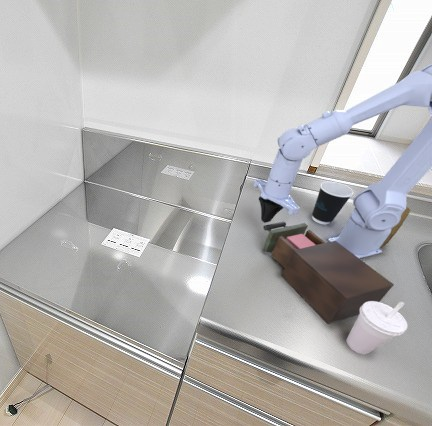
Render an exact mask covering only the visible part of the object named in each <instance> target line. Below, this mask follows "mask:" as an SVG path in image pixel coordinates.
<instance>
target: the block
mask: <svg viewBox="0 0 432 426" xmlns="http://www.w3.org/2000/svg"><path fill="white" fill-rule="evenodd" d="M286 240H287V241H288V242H289V243H290V244H291V245H292V246H293V247H294V248H296V249H301V248H305V247H310V246H314V245H315V244H314V243H313V242H312V241H310V240H309V239H308V238H307V237H305V234H304V235H303V234H299V235H294V236H290V237H287V238H286Z"/></svg>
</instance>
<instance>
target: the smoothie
mask: <svg viewBox="0 0 432 426" xmlns="http://www.w3.org/2000/svg"><path fill="white" fill-rule="evenodd" d="M404 305H405V302H403V301H399V302H398V303H397V305H395V307H394V308H393V307H391V305H388V304H386V303H383V302H381V301H380V302H376V301H368V302H365V303H364V304H363V305H362V306H361V307H360V314H359V315H357V318H356V319H355V322H354V323H353V326H352V328H351V329H350V332H349V334H348V335H347V338H346V339H345V341H346V344H347V346H348V347H349V348H350V349H351V350H352V351H353V352H355V353H356V354H360V355H363V356H364V355H368V354H369V353H371V352H373V351H374V350H376V349H377V348H379V347H381V346H382V345H384V344H385V343H387V342H388V341H390V340H391V339H393V338H394V337H398V336H401V335H404V333H405V332H406V330H407V329H408V322H407V320H406V319H405V317H404V316H403V315H402V314H401V313H400V312H399V311H400V310H401V308H402V307H403V306H404Z"/></svg>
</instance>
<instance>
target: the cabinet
mask: <svg viewBox="0 0 432 426" xmlns="http://www.w3.org/2000/svg"><path fill="white" fill-rule="evenodd" d="M281 277H282V278H283V279H284V280H285V281H286V283H288V285H290V287H292V289H293V290H295V292H296V293H297V294H298V295H299V296H300V297H301V298H302V299H303V300H304V301H305V303H307V304H308V305H309V306H310V308H312V309H313V311H314V312H316V313H317V315H318V316H319V317H320V318H321V319H322V320H323V321H324V322H325V323H326V324H327V325H330V324H333V323H335V322H340V321H343V320H346V319H349V318H354V317H356V316H359V314H360V307H361V306H362V305H363V304H364V303H365V302H368V301H376V302H380V303H381V301H382V300H383V299H384V298H385V296H386V295H387V294H388V293H389V292H390V290H392V288H393V287H394V285H395V284H394V283H393V282H391V281H390V280H388V279H387V278H386V277H385V276H384V275H382V274H381V273H379V272H378V271H377V270H375V269H374V268H372V267H371V265H369V264H367V263H366V262H365V261H363V260H362V258H358V257H357V256H355V255H354V254H353V253H351V252H350V251H349V250H347V249H346V248H345V247H343V246H342V245H341V244H339V243H338V242H337V241H331V242H329V241H326V243H322V244H318V245H314V246H310V247H305V248H301V249H297V250H293V252H292V255H291V257H290V259H289V261H288V263H287V265H286V267H285V268H284V269H283V271H282V273H281Z"/></svg>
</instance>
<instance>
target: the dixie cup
mask: <svg viewBox="0 0 432 426" xmlns="http://www.w3.org/2000/svg"><path fill="white" fill-rule="evenodd" d="M319 187H320V188H319V192H318V194H317V197H316V201H315V203H314V207H313V210H312V213H311V215H312V216H311V219H312V221H314V222H316V223H317V224H320V225H330V224H331V222H333V221H334V219H335V218H336V217H337V215H338V214H339V213H340V212H341V210H342V208H343V207H344V206H345V205H346V203H348V200H350V198H351V197H353V195H355V191H354V190H353V189H352V188H351V187H349V185H346V184H344V183H341V182H337V181H322V182H321V183H320V185H319Z"/></svg>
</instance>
